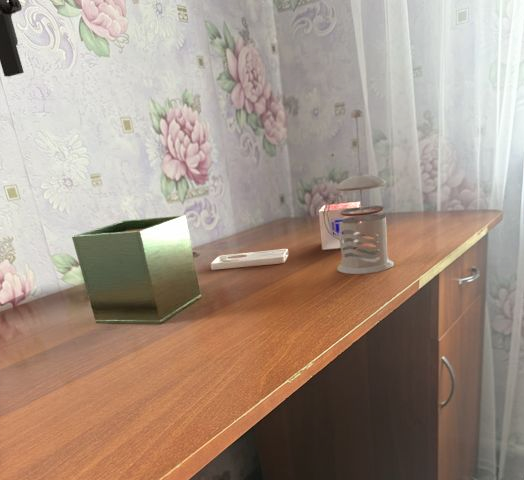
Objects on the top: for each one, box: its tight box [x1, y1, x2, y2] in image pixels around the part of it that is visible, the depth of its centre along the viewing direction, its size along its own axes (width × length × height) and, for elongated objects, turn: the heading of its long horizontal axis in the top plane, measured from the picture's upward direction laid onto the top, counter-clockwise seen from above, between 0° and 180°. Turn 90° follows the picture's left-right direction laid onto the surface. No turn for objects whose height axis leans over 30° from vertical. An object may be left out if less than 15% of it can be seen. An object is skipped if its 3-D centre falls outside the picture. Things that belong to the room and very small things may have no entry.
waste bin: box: [71, 214, 202, 325], centre depth 78 cm, size 12×12×14 cm
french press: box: [323, 109, 394, 275], centre depth 83 cm, size 10×12×25 cm
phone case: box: [210, 248, 289, 271], centre depth 102 cm, size 7×1×15 cm
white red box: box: [318, 201, 362, 251], centre depth 105 cm, size 8×8×8 cm
